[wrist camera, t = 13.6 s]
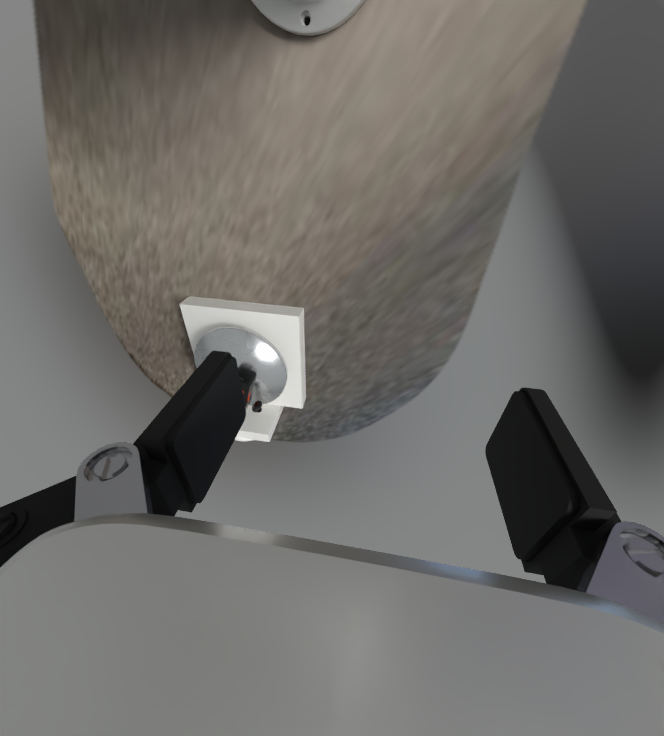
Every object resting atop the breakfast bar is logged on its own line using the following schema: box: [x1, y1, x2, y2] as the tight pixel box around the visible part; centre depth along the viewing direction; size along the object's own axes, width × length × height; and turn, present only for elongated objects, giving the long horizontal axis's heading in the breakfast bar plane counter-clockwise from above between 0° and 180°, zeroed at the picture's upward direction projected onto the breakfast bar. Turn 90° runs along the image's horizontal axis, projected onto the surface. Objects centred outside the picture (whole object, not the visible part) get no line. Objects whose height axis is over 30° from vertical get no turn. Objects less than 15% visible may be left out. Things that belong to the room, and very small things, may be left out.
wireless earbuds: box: [238, 366, 262, 413], centre depth 43 cm, size 5×7×3 cm, turn 162°
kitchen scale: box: [179, 296, 306, 442], centre depth 44 cm, size 18×16×9 cm
